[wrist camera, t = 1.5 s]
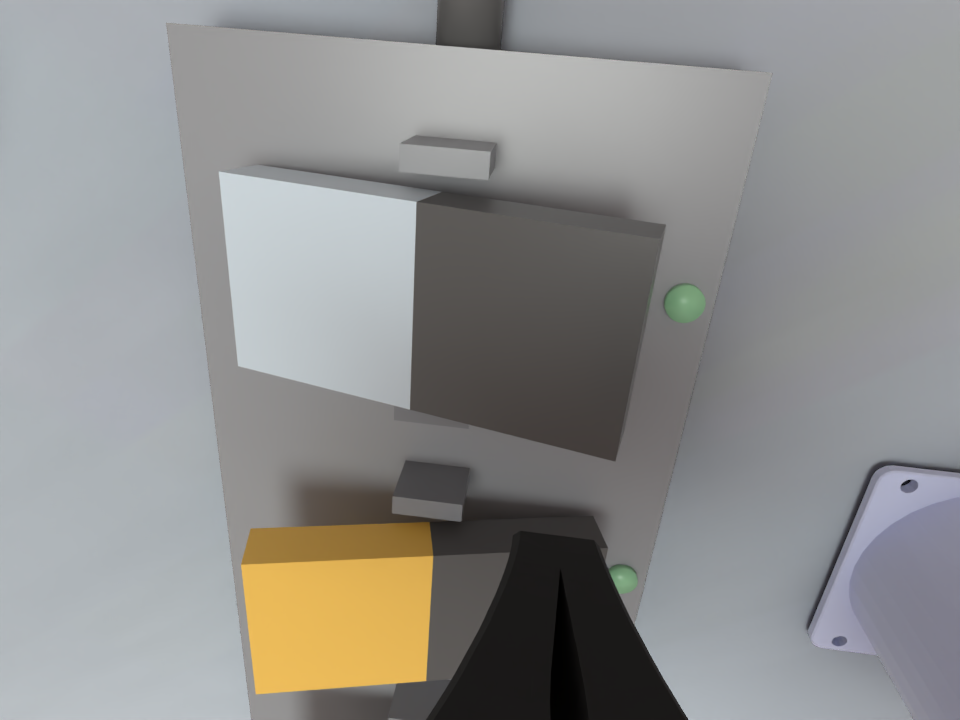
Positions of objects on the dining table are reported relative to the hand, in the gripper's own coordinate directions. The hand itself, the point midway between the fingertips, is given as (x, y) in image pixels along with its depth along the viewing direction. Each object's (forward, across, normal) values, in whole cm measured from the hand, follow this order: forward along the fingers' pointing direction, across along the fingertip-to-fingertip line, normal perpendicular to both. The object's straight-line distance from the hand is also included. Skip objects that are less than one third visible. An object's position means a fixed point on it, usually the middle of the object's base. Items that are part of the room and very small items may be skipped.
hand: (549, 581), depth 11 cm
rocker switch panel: (+10, +3, +5) cm, 12 cm away
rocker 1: (+7, +3, -2) cm, 8 cm away
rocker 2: (+7, +3, +7) cm, 10 cm away
